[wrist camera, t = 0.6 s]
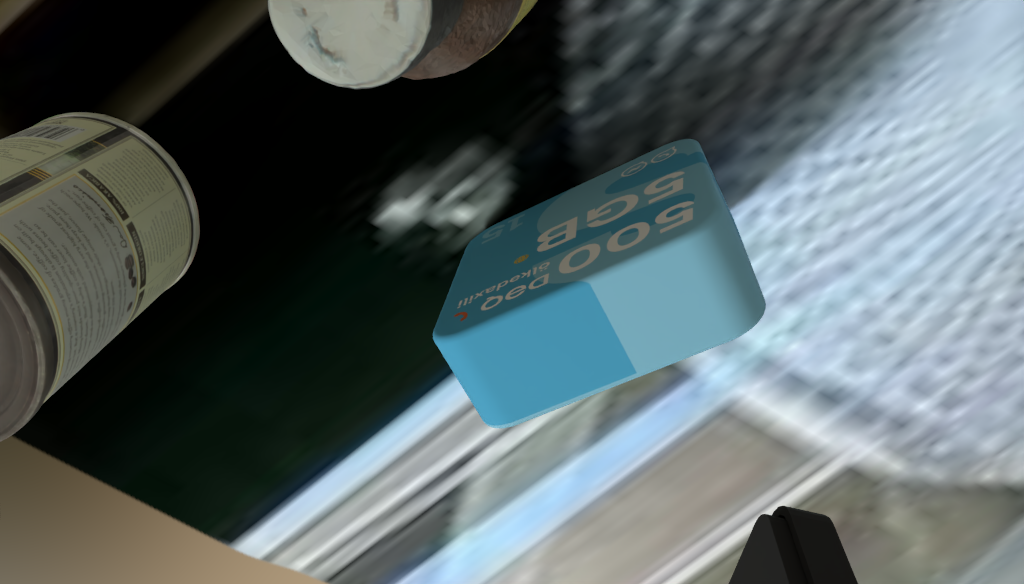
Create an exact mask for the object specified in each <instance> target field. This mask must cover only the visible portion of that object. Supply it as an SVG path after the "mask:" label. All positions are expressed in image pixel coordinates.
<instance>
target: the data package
mask: <svg viewBox="0 0 1024 584" xmlns="http://www.w3.org/2000/svg"><path fill="white" fill-rule="evenodd" d="M765 306H766V304H765V299H764V297H763V294H762V292H761V289H760V286H759V284H758V281H757V279H756V276H755V274H754V271H753V268H752V266H751V263H750V261H749V258H748V255H747V253H746V250H745V248H744V245H743V242H742V240H741V237H740V235H739V232H738V229H737V227H736V224H735V222H734V219H733V217H732V215H731V212H730V210H729V208H728V206H727V204H726V201H725V199H724V197H723V195H722V192H721V190H720V188H719V186H718V184H717V181H716V179H715V177H714V175H713V172H712V170H711V168H710V166H709V164H708V161H707V159H706V157H705V155H704V152H703V150H702V148H701V146H700V144H699V142H698V141H696V140H694V139H682V140H678V141H674V142H671V143H668V144H666V145H664V146H661V147H659V148H657V149H655V150H653V151H651V152H648V153H646V154H644V155H642V156H640V157H638V158H636V159H634V160H631V161H629V162H627V163H625V164H623V165H621V166H619V167H616V168H614V169H612V170H610V171H608V172H606V173H604V174H601V175H599V176H597V177H595V178H593V179H591V180H589V181H587V182H584V183H582V184H580V185H578V186H576V187H574V188H572V189H569V190H567V191H565V192H563V193H561V194H559V195H557V196H555V197H552V198H550V199H548V200H546V201H544V202H542V203H540V204H537V205H535V206H533V207H531V208H529V209H527V210H525V211H522V212H520V213H518V214H516V215H514V216H512V217H510V218H508V219H505V220H503V221H501V222H499V223H497V224H495V225H493V226H491V227H489V228H488V229H486V230H484V231H483V232H481V233H480V234H479V235H477V236H476V237H475V238H474V239H473V240H472V241H471V242H470V243H469V244H468V246H467V247H466V250H465V252H464V255H463V257H462V260H461V262H460V265H459V268H458V270H457V273H456V275H455V278H454V280H453V283H452V285H451V288H450V290H449V293H448V296H447V298H446V301H445V303H444V306H443V308H442V311H441V313H440V316H439V318H438V321H437V323H436V326H435V329H434V332H433V339H434V342H435V343H436V345H437V346H438V348H439V350H440V351H441V353H442V355H443V356H444V358H445V359H446V361H447V363H448V364H449V366H450V368H451V369H452V371H453V372H454V374H455V376H456V377H457V379H458V381H459V382H460V384H461V385H462V387H463V389H464V390H465V392H466V394H467V395H468V397H469V398H470V400H471V402H472V403H473V405H474V407H475V408H476V410H477V411H478V413H479V415H480V416H481V418H482V420H483V421H484V422H485V424H487V425H488V426H490V427H493V428H507V427H511V426H515V425H518V424H520V423H523V422H525V421H528V420H530V419H533V418H535V417H538V416H541V415H543V414H546V413H548V412H551V411H553V410H556V409H558V408H561V407H563V406H566V405H569V404H571V403H574V402H576V401H579V400H581V399H584V398H586V397H589V396H591V395H594V394H597V393H599V392H602V391H604V390H607V389H609V388H612V387H614V386H617V385H619V384H622V383H624V382H627V381H630V380H632V379H635V378H637V377H640V376H642V375H645V374H647V373H650V372H652V371H655V370H658V369H660V368H663V367H665V366H668V365H670V364H673V363H675V362H678V361H680V360H683V359H686V358H688V357H691V356H693V355H696V354H698V353H701V352H703V351H706V350H708V349H711V348H714V347H716V346H719V345H721V344H724V343H726V342H729V341H731V340H733V339H735V338H737V337H739V336H741V335H743V334H744V333H746V332H747V331H749V330H750V329H751V328H753V327H754V326H755V325H756V324H757V323H758V322H759V320H760V319H761V318H762V316H763V314H764V311H765Z"/></svg>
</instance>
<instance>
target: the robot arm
mask: <svg viewBox="0 0 1024 584" xmlns="http://www.w3.org/2000/svg"><path fill="white" fill-rule="evenodd" d="M729 584H858V583H857V580H856V578H855V576H854V573H853V571H852V568H851V566H850V563H849V561H848V558H847V556H846V554H845V551H844V549H843V546H842V544H841V541H840V539H839V537H838V534H837V532H836V529H835V527H834V524H833V522H832V521H831V519H830V518H829V517H827V516H826V515H822V514H818V513H813V512H809V511H804V510H800V509H795V508H791V507H786V506H780V507H778V508H777V509H776V510H775V511H774V513H773V514H772V516H771V515H767V514H762V515H761V516H760V517H759V518H758V519H757V521H756V523H755V525H754V527H753V530H752V532H751V534H750V537H749V539H748V541H747V543H746V546H745V548H744V550H743V552H742V555H741V557H740V559H739V562H738V564H737V566H736V568H735V571H734V573H733V575H732V577H731V580H730V582H729Z"/></svg>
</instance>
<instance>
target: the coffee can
mask: <svg viewBox="0 0 1024 584" xmlns="http://www.w3.org/2000/svg"><path fill="white" fill-rule="evenodd" d="M199 236H200V225H199V214H198V208H197V204H196V201H195V198H194V194H193V192H192V189H191V187H190V185H189V183H188V181H187V179H186V177H185V175H184V174H183V172H182V171H181V169H180V168H179V166H178V165H177V163H176V162H175V160H174V159H173V158H172V157H171V156H170V155H169V154H168V153H167V152H166V151H165V150H164V149H163V148H162V147H161V146H160V145H159V144H158V143H157V142H156V141H154V140H153V139H152V138H151V137H150V136H149V135H147V134H146V133H144V132H143V131H141V130H139V129H138V128H136V127H134V126H133V125H131V124H129V123H126V122H124V121H122V120H119V119H117V118H114V117H110V116H108V115H106V114H97V113H89V112H72V113H65V114H60V115H56V116H53V117H50V118H47V119H45V120H43V121H41V122H39V123H38V124H36V125H34V126H33V127H30V128H28V129H25V130H23V131H21V132H18V133H16V134H13V135H11V136H8V137H6V138H4V139H1V140H0V441H2V440H4V439H6V438H8V437H10V436H11V435H13V434H14V433H15V432H17V431H18V430H19V429H21V428H22V427H23V426H24V425H25V424H26V423H27V422H28V421H29V420H30V419H31V418H32V417H33V416H34V415H35V414H36V412H37V411H38V410H39V408H40V407H41V405H42V404H43V403H44V402H45V401H46V400H47V399H48V398H49V397H50V396H52V395H53V394H54V393H55V392H56V391H57V390H58V389H59V388H60V387H61V386H62V385H63V384H65V383H66V382H67V381H68V380H69V379H70V378H71V377H72V376H73V375H74V374H75V373H76V372H78V371H79V370H80V369H81V368H82V367H83V366H84V365H85V364H86V363H87V362H88V361H89V360H90V359H92V358H93V357H94V356H95V355H96V354H97V353H98V352H99V351H100V350H101V349H102V348H103V347H104V346H106V345H107V344H108V343H109V342H110V341H111V340H112V339H113V338H114V337H115V336H117V335H118V334H119V333H120V332H121V331H122V330H123V329H124V328H125V327H126V326H127V325H128V324H129V323H130V322H131V321H132V320H134V319H135V318H136V317H137V316H138V315H139V314H140V313H141V312H142V311H143V310H144V309H145V308H147V307H148V306H149V305H150V304H151V303H152V302H153V301H154V300H155V299H156V298H157V297H158V296H159V295H160V294H162V293H163V292H164V291H165V290H167V289H168V288H170V287H171V286H172V285H174V284H175V283H176V282H177V281H178V280H179V279H180V278H181V277H182V276H183V275H184V273H185V272H186V271H187V269H188V268H189V266H190V264H191V262H192V260H193V258H194V256H195V253H196V249H197V246H198V241H199Z"/></svg>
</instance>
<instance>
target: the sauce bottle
mask: <svg viewBox="0 0 1024 584" xmlns="http://www.w3.org/2000/svg"><path fill="white" fill-rule="evenodd" d="M537 1H538V0H268V10H269V14H270V18H271V22H272V25H273V27H274V30H275V32H276V34H277V36H278V38H279V39H280V41H281V43H282V44H283V46H284V47H285V49H286V50H287V51H288V52H289V54H290V55H291V57H292V58H293V59H294V60H295V61H296V62H297V63H298V64H300V65H301V66H302V67H303V68H304V69H305V70H306V71H307V72H308V73H310V74H312V75H313V76H315V77H317V78H319V79H321V80H322V81H325V82H327V83H330V84H333V85H336V86H339V87H346V88H352V89H366V88H373V87H377V86H380V85H383V84H386V83H389V82H391V81H393V80H395V79H397V78H399V77H401V76H403V77H406V78H410V79H415V80H419V79H426V78H434V77H440V76H444V75H449V74H451V73H455V72H458V71H460V70H463V69H465V68H467V67H468V66H470V65H471V64H473V63H474V62H476V61H477V60H478V59H480V58H481V57H483V56H484V55H486V54H487V53H489V52H490V51H492V50H493V49H494V48H495V47H496V46H497V45H498V44H499V43H500V42H501V41H502V40H503V39H504V38H505V37H506V36H507V35H508V34H509V33H510V31H511V30H512V29H513V28H514V27H515V26H516V25H517V24H518V23H519V22H520V21H521V20H522V19H523V18H524V16H525V15H526V14H527V13H528V12H529V11H530V10H531V9H532V7H533V6H534V5H535V3H536V2H537Z"/></svg>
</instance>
